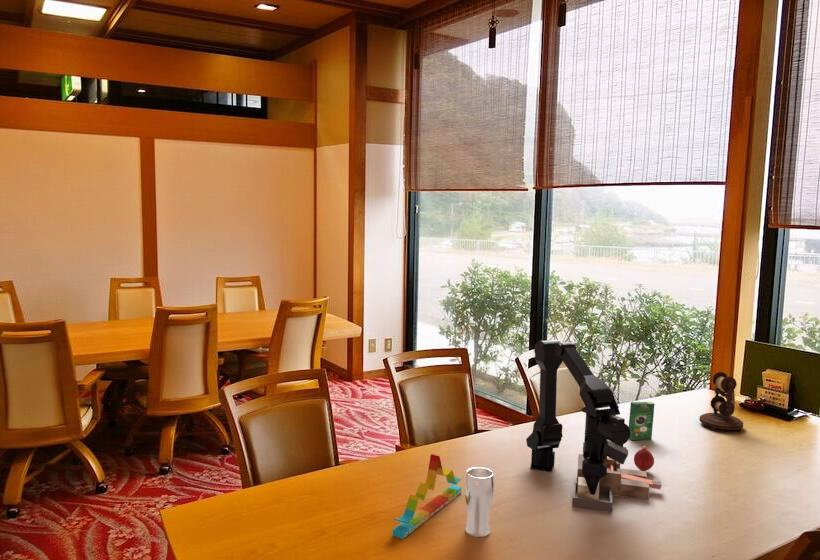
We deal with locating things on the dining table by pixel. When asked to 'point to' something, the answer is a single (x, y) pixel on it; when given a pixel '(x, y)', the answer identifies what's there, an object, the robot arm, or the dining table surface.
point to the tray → (600, 505)
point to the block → (586, 490)
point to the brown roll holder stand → (723, 405)
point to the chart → (413, 518)
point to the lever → (639, 479)
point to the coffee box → (641, 420)
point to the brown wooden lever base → (621, 480)
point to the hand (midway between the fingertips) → (592, 487)
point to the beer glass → (478, 500)
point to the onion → (643, 459)
